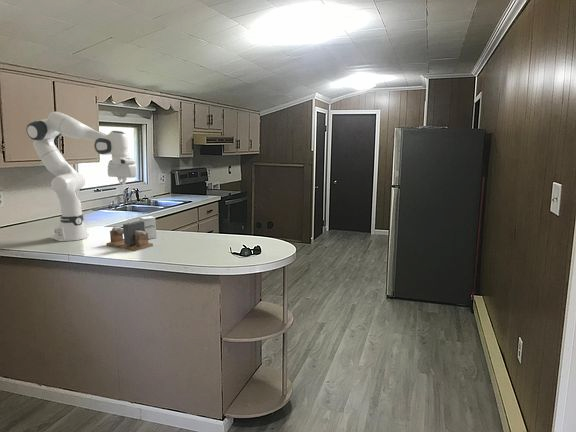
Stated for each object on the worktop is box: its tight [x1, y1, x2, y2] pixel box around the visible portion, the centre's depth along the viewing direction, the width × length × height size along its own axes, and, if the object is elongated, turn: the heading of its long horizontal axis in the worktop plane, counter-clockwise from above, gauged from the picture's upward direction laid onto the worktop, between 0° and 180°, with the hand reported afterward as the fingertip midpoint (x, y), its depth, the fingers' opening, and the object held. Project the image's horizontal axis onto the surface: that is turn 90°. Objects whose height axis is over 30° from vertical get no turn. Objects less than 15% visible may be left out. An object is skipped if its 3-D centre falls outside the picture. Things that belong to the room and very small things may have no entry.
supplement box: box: [139, 215, 158, 240], centre depth 273 cm, size 7×7×13 cm
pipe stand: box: [105, 226, 154, 252], centre depth 254 cm, size 24×12×10 cm, turn 58°
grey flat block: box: [122, 220, 145, 245], centre depth 251 cm, size 4×11×11 cm, turn 148°
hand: (122, 185), depth 257 cm, fingers closed
